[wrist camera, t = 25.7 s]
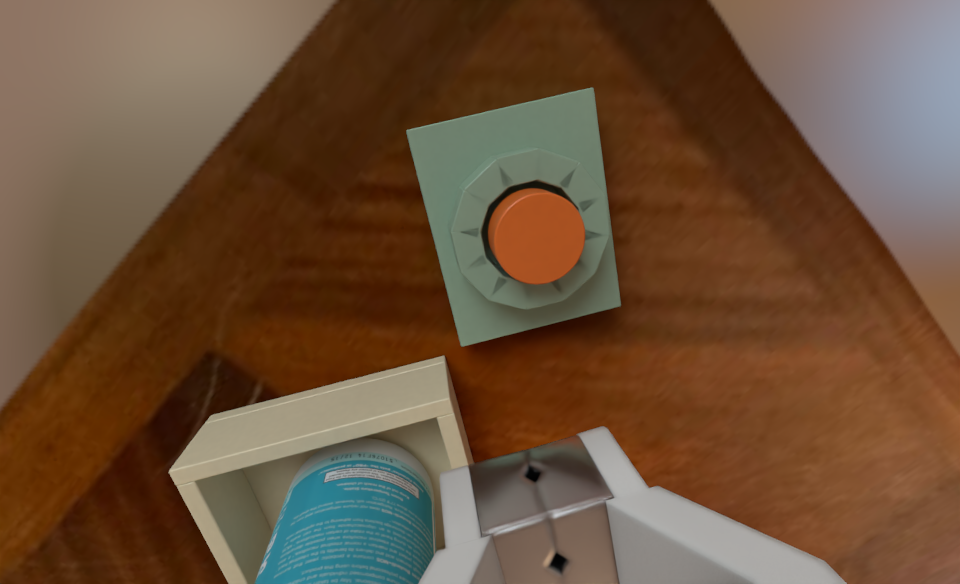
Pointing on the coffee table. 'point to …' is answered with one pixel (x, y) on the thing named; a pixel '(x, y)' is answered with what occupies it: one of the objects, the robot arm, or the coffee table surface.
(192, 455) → the cream square open box
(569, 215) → the button
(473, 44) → the coffee table surface
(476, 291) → the panel
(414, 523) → the pill bottle
